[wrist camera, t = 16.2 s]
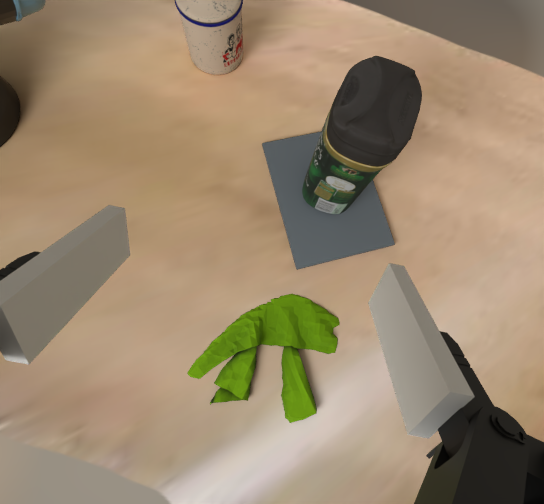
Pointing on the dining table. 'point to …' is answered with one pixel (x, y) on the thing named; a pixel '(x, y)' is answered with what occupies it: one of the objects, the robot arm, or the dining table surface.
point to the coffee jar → (362, 132)
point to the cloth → (271, 331)
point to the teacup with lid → (213, 33)
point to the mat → (314, 223)
